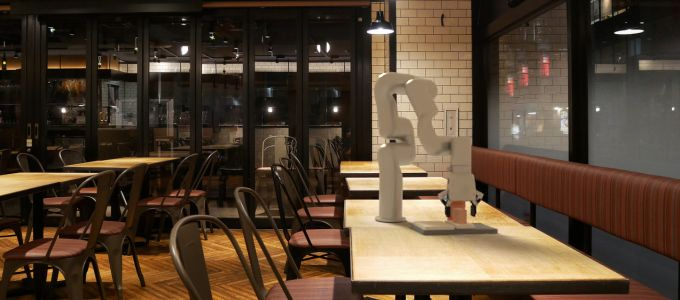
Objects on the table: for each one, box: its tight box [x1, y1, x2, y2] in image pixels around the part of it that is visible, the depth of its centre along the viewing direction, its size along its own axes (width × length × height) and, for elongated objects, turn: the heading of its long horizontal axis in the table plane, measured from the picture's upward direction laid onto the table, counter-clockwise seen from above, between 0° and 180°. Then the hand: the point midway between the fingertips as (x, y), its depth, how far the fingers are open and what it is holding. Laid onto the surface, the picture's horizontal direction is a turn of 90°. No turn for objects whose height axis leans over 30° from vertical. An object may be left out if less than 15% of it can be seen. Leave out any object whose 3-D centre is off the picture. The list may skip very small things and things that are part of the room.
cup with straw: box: [443, 195, 467, 220], centre depth 242 cm, size 9×9×18 cm
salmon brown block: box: [444, 208, 475, 229], centre depth 223 cm, size 12×7×6 cm, turn 11°
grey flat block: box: [409, 220, 499, 236], centre depth 223 cm, size 15×28×3 cm, turn 101°
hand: (460, 216), depth 223 cm, fingers open, 9 cm apart
